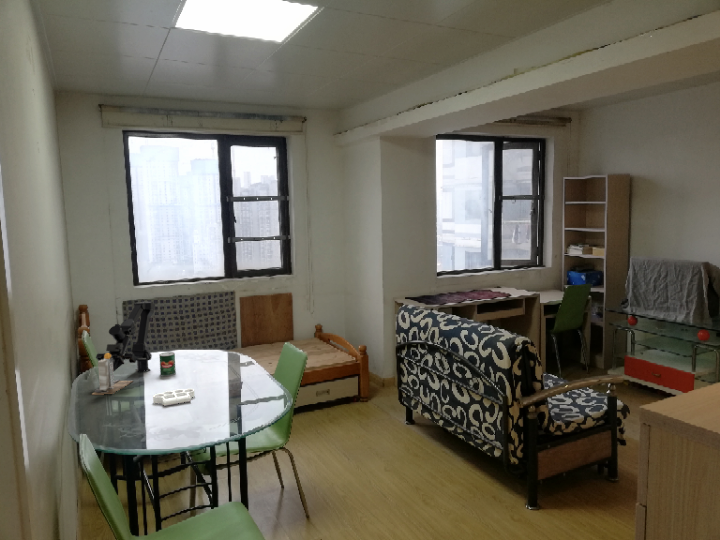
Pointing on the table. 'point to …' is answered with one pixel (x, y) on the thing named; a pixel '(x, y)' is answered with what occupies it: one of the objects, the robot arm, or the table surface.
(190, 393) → the white piece
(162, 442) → the table surface
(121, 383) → the bolt board
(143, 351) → the robot arm
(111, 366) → the sliding leg
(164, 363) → the canned tomato
